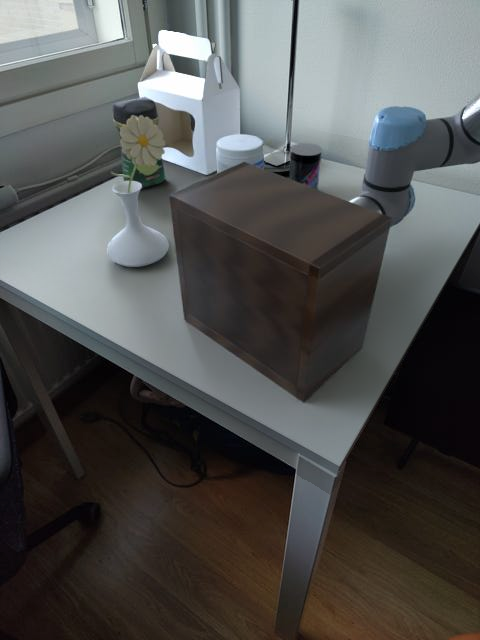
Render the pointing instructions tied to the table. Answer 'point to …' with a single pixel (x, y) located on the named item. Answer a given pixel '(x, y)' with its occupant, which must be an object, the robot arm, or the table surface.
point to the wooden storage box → (277, 272)
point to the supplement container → (305, 164)
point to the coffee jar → (120, 117)
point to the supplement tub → (239, 151)
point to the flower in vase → (136, 239)
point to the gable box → (191, 101)
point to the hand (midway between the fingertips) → (249, 294)
